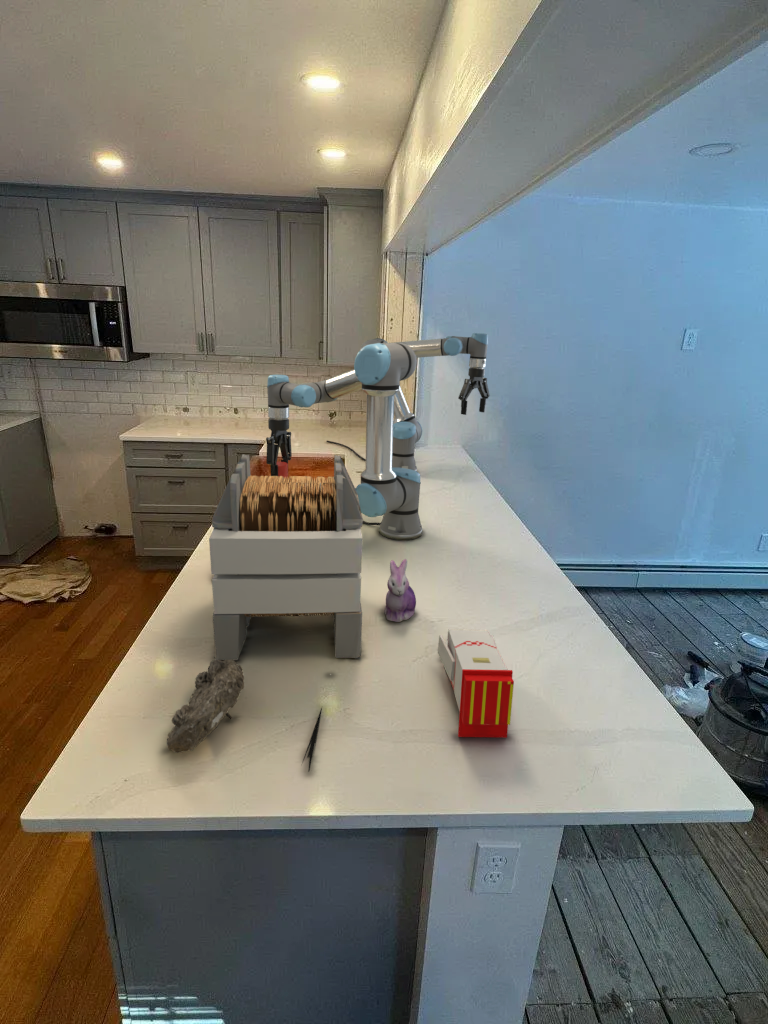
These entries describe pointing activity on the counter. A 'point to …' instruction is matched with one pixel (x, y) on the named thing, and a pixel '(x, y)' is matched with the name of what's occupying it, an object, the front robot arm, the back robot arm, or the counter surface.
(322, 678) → the counter surface
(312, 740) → the feather
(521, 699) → the counter surface
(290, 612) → the record crate
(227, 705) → the fossil
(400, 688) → the counter surface
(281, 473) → the canister
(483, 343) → the back robot arm
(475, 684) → the toy
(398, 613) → the figurine
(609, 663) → the counter surface
